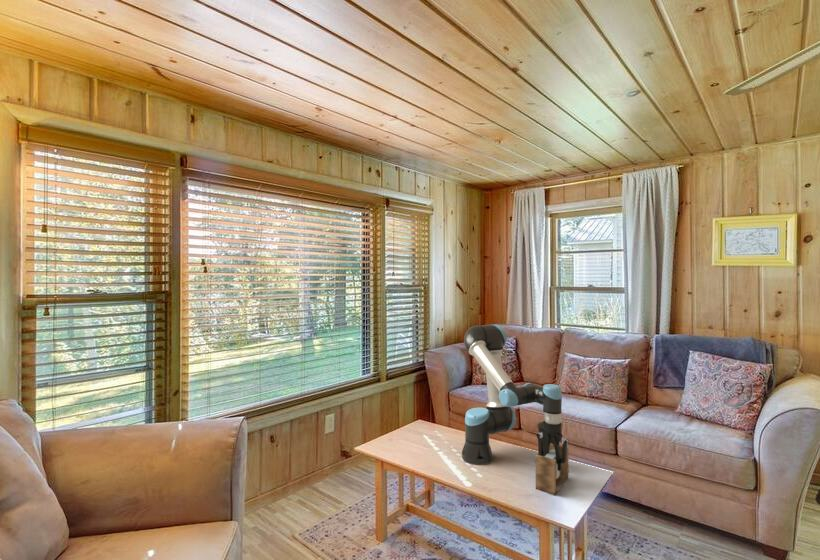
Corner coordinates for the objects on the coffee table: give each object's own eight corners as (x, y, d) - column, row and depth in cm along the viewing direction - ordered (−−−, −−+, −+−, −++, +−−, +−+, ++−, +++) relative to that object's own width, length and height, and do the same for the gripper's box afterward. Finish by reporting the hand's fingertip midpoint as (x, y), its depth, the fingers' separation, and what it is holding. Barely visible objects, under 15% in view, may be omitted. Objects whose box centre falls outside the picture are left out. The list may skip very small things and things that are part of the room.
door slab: (542, 480, 173) (542, 456, 173) (551, 471, 181) (551, 448, 181) (552, 483, 170) (552, 459, 170) (560, 474, 178) (560, 451, 178)
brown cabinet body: (535, 488, 172) (535, 455, 171) (549, 473, 185) (549, 442, 185) (555, 495, 166) (555, 461, 166) (569, 479, 179) (569, 447, 179)
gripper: (530, 419, 178) (530, 473, 178) (569, 428, 167) (569, 485, 167) (537, 415, 183) (537, 467, 184) (575, 423, 173) (575, 478, 173)
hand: (552, 475), depth 175 cm, fingers closed on door slab, 3 cm apart
